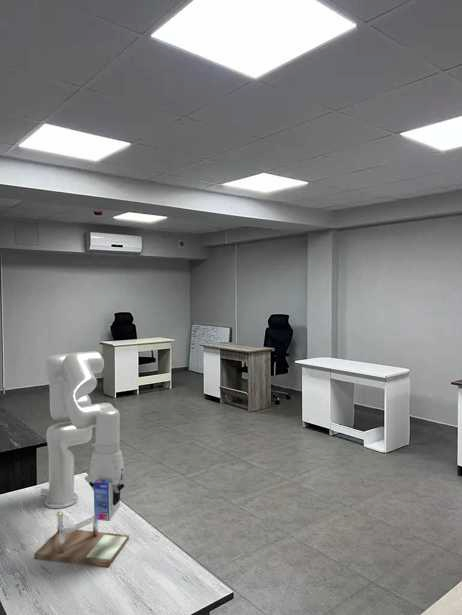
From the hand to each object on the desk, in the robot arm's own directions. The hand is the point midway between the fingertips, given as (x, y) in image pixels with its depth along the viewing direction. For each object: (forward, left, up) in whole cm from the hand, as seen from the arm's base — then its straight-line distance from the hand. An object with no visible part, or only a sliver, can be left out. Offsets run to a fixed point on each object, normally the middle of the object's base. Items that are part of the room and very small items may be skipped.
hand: (107, 501), depth 149 cm
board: (-8, 0, -17) cm, 19 cm away
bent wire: (-13, 0, -15) cm, 20 cm away
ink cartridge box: (0, 0, -4) cm, 4 cm away
